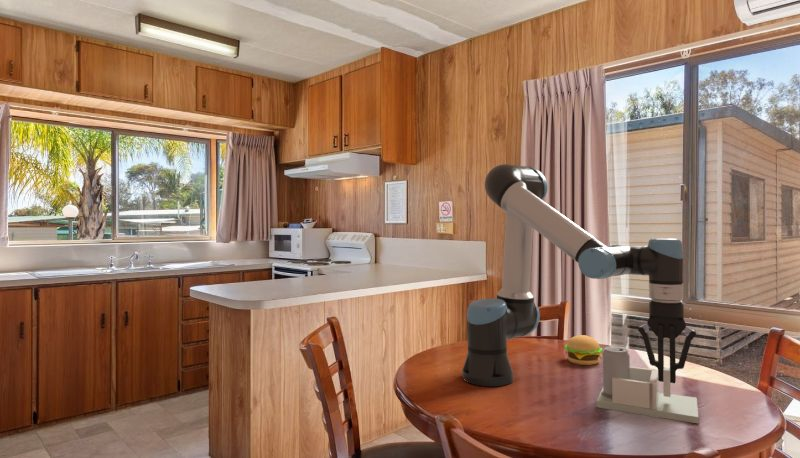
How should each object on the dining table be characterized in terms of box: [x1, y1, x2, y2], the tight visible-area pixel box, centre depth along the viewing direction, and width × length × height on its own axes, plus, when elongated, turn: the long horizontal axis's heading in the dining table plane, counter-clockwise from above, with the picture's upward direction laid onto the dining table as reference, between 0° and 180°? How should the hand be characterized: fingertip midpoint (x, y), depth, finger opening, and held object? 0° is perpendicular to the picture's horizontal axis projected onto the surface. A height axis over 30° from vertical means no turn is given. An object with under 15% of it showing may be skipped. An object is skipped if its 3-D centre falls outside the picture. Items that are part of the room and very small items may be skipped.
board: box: [595, 387, 700, 425], centre depth 124 cm, size 22×14×2 cm, turn 60°
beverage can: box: [602, 346, 631, 397], centre depth 127 cm, size 6×6×12 cm
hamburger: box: [564, 334, 603, 366], centre depth 165 cm, size 12×12×9 cm
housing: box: [612, 365, 660, 410], centre depth 125 cm, size 10×14×6 cm
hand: (667, 394), depth 122 cm, fingers closed
